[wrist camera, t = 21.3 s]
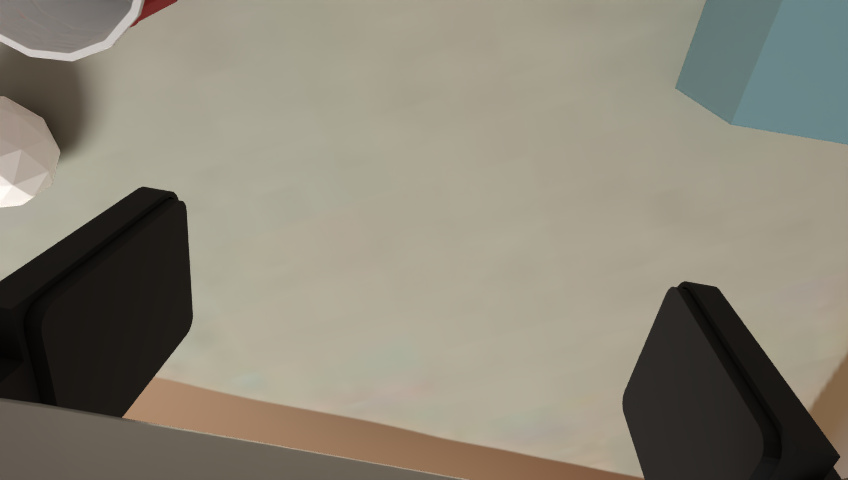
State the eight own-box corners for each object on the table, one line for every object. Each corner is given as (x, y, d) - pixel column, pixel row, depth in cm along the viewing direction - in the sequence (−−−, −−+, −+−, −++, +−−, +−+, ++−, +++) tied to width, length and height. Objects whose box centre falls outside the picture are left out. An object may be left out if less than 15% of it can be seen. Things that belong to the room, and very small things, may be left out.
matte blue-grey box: (855, -24, 32) (978, -18, 24) (793, 108, 35) (883, 150, 27) (722, -46, 32) (802, -47, 24) (675, 87, 35) (730, 124, 27)
